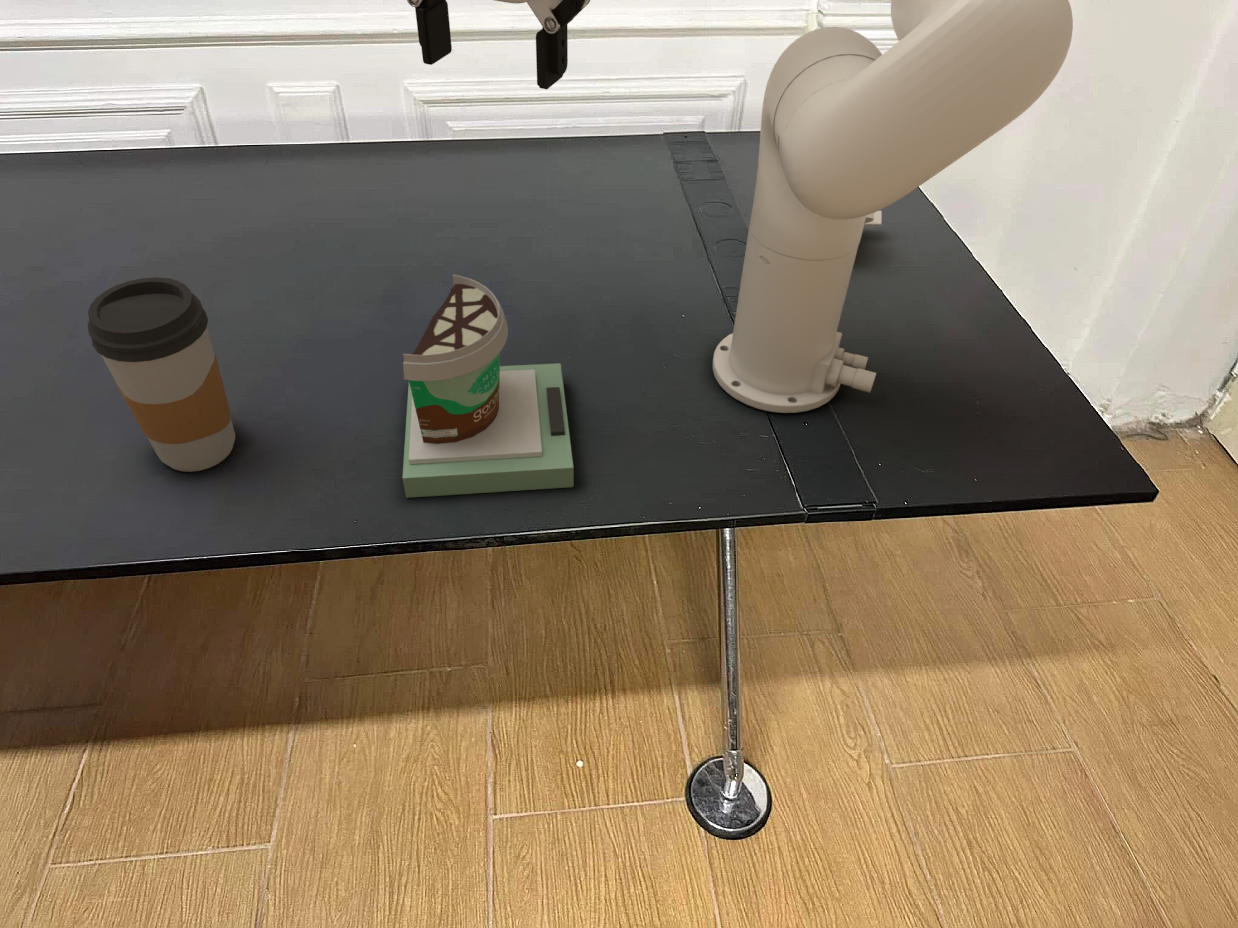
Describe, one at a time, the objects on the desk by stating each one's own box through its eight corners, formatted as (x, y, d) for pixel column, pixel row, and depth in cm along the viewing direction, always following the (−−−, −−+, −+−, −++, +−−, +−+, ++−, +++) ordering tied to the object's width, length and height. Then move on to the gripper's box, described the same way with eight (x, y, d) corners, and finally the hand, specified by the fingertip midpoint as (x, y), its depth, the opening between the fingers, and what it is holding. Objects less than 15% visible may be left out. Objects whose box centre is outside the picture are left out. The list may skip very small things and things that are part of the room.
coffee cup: (163, 417, 81) (101, 274, 70) (258, 415, 82) (211, 273, 71) (134, 483, 75) (62, 338, 65) (236, 481, 76) (182, 336, 65)
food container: (488, 466, 74) (479, 371, 67) (416, 454, 75) (400, 358, 67) (529, 374, 82) (525, 281, 75) (464, 364, 83) (454, 271, 76)
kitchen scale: (560, 382, 86) (560, 357, 84) (573, 487, 77) (573, 462, 75) (412, 390, 85) (408, 365, 83) (406, 498, 75) (401, 472, 73)
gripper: (324, -215, 56) (368, 66, 68) (576, -183, 52) (576, 111, 64) (391, -230, 61) (421, 34, 73) (626, -202, 57) (617, 74, 69)
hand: (493, 70), depth 68 cm, fingers open, 9 cm apart
